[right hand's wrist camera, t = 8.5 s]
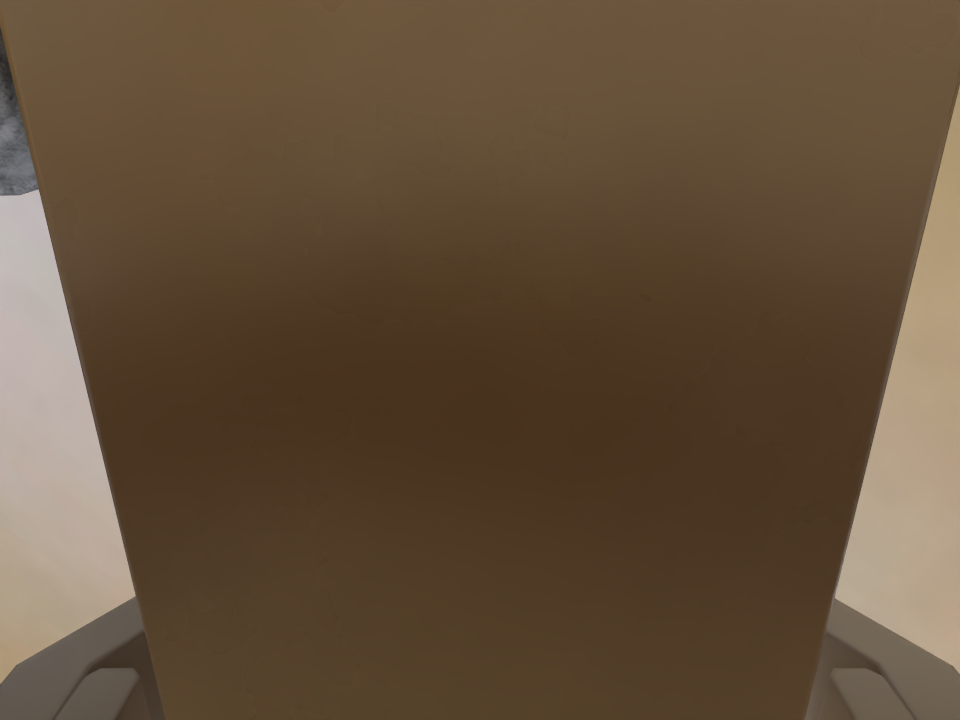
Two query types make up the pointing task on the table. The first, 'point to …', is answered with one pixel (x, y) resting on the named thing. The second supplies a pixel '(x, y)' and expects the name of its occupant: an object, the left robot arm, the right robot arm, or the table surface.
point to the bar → (485, 334)
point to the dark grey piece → (13, 137)
